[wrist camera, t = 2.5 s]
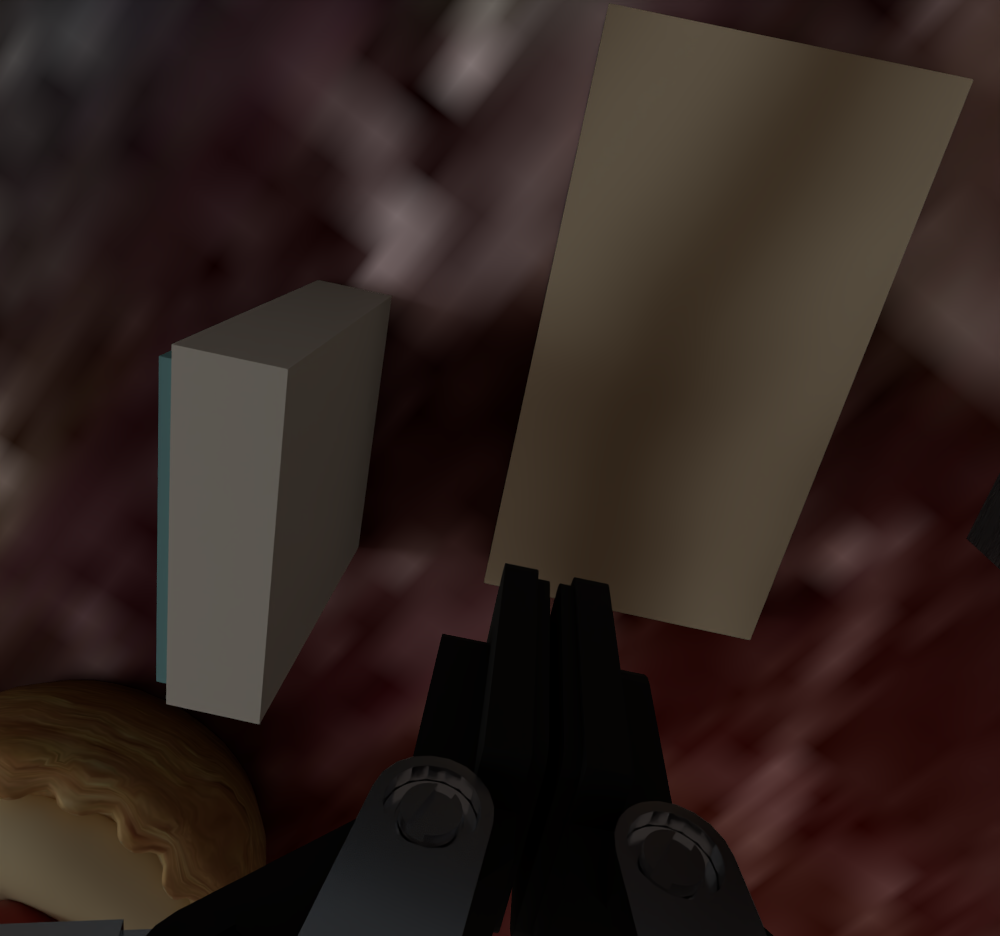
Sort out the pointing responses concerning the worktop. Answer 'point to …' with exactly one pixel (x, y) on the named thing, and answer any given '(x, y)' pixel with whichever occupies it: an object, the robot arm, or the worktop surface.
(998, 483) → the brown rectangular block
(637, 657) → the worktop surface
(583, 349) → the board
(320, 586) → the tile
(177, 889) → the pastry
